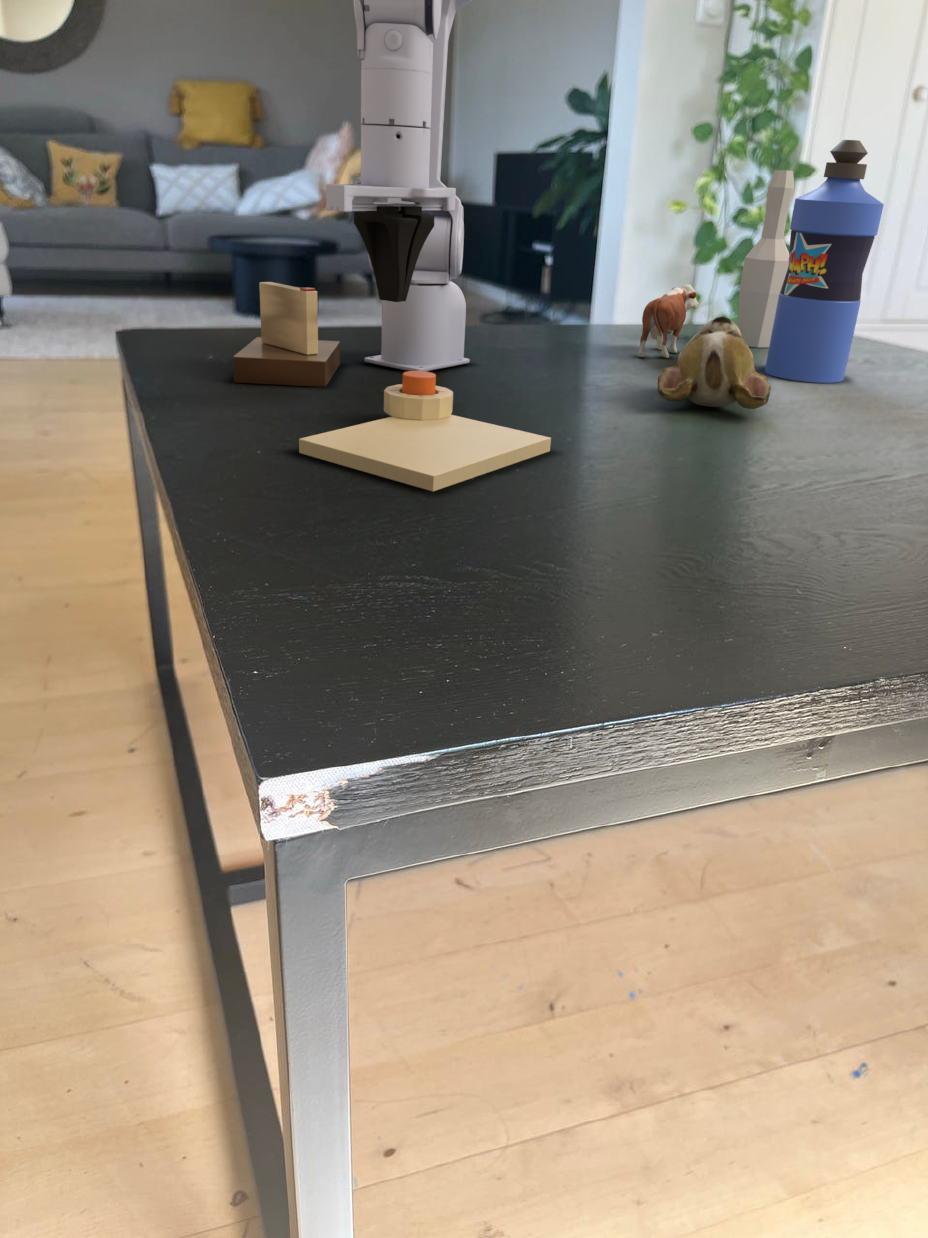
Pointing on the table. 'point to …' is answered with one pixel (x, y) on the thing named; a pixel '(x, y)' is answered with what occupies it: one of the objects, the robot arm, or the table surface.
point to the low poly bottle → (766, 266)
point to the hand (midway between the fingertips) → (392, 300)
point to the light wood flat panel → (289, 317)
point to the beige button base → (424, 443)
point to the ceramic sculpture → (715, 370)
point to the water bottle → (825, 273)
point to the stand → (286, 364)
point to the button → (418, 383)
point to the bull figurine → (667, 318)
